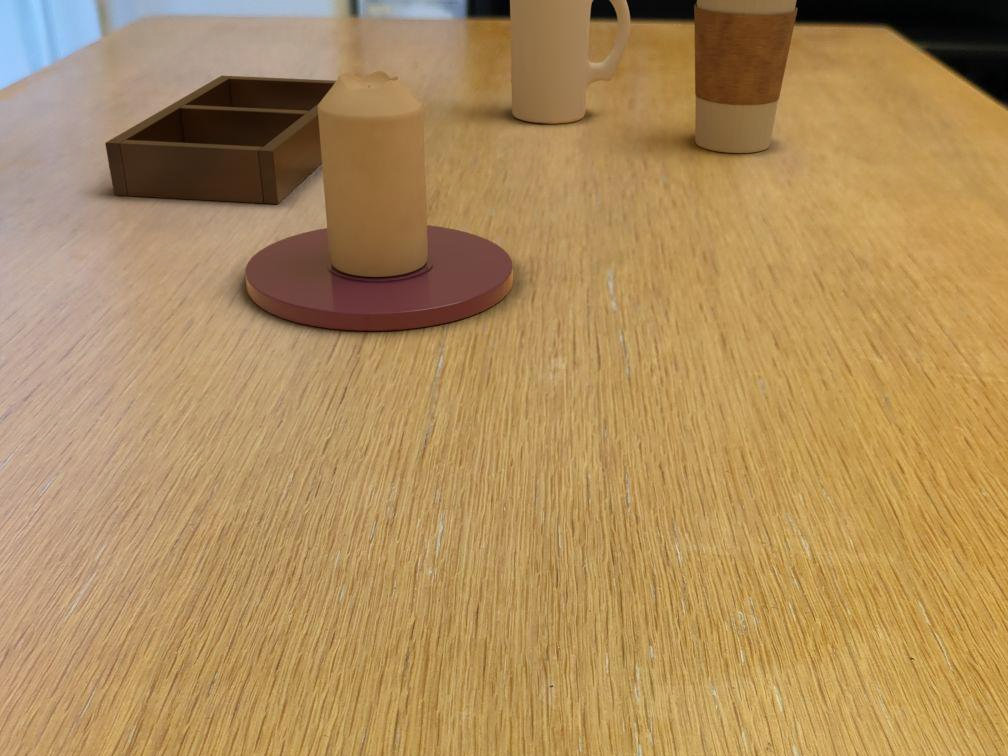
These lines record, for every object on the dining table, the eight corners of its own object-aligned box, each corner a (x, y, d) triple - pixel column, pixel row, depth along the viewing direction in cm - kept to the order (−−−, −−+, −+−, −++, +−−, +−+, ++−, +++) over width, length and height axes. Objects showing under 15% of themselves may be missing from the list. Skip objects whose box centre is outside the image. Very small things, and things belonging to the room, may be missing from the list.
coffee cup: (760, 163, 91) (785, -57, 83) (661, 146, 95) (675, -66, 87) (801, 140, 97) (828, -67, 89) (706, 126, 101) (723, -75, 93)
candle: (312, 271, 67) (295, 81, 61) (356, 241, 71) (344, 61, 66) (404, 283, 65) (395, 90, 60) (443, 252, 70) (437, 70, 64)
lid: (207, 321, 63) (204, 301, 63) (293, 232, 76) (291, 214, 75) (489, 340, 62) (489, 319, 61) (529, 245, 74) (529, 228, 74)
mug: (511, 125, 100) (511, -34, 94) (506, 106, 106) (506, -45, 100) (631, 124, 101) (640, -33, 95) (619, 106, 107) (627, -44, 100)
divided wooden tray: (113, 195, 82) (104, 142, 80) (226, 119, 100) (221, 75, 99) (278, 204, 81) (272, 151, 79) (361, 126, 99) (358, 81, 97)
